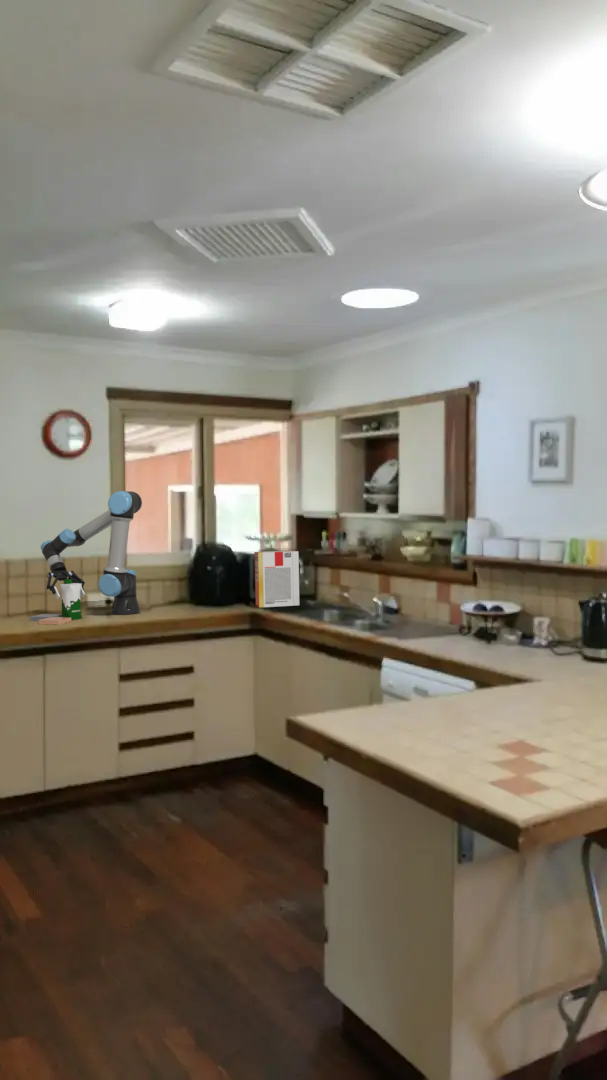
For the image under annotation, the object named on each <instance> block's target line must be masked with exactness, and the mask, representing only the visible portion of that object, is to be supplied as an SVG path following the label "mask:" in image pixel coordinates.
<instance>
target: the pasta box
mask: <svg viewBox="0 0 607 1080" xmlns="http://www.w3.org/2000/svg"><path fill="white" fill-rule="evenodd" d="M299 563H300V559H299V550H275V551H274V550H271V551H254V578H255V579H254V581H255V582H254V583H255V585H254V586H255V588H254V589H255V606H256V605H257V606H258V607H257V606H256V607H257V608H259V609H260V608H275V607H291V606H292V607H293V606H300V568H299V567H300V565H299Z"/></svg>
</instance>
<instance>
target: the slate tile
mask: <svg viewBox="0 0 607 1080" xmlns="http://www.w3.org/2000/svg"><path fill="white" fill-rule="evenodd" d="M50 617H62V613H61V614H57V613H41V614H36V615H32V616H30V617H29V618H30V619H29V620H30V621H31V622H32V621H34V622H39V620H41V619H45V618H50Z"/></svg>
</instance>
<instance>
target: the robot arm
mask: <svg viewBox="0 0 607 1080" xmlns="http://www.w3.org/2000/svg"><path fill="white" fill-rule="evenodd" d="M142 505H143V501H142V497H141V495H140V494H139V493H137V492H135V491H129V490H128V491H127V490H125V491H124V490H120V491H119V490H118V491H114V492H113V494H111V495H110V497H109V498H108V501H107V507H108V510H106V511H105V512H103V513H102V514H99V515H98V516H97V517H95V518H93V519H92V520H90V521H89V522H87V523H86V524H84V525H82V526H81V527H79V528H78V529H76V530H75V531H72V530H71V529H69V528H64V529H63V531H61V532H59V534H58V535H57V536H55V538H54V539H53V540H51V539H50V540H46V541H44V542H42V543H41V545H40V549H41V552H42V553H41V554H42V555H43V556H44V559H45V561H46V563H47V565H48V567H49V572H48V573H47V576H46V577H47V583H46V590H49V591H50V592H52V595H54V597H55V598H56V600H57V601H59V600H60V597H61V595H60V593H59V590H58V588H57V587H56V583H57V582H58V581H60V582H62V581H63V582H64V580H65V579H72V583H79V584H82V585H81V591H80V597H81V599H83V598H84V597H85V596H86V593H85V588H84V585H85V583H86V582H85V581H84V580H83V579H82V578H81V577H79V575H77V574H76V573H75V572H74V570H71V571H68V569H67V567H66V565H65V563H64V561H63V558H62V556H61V555H60V554H62V552H63V551H65V550H67V548H71V547H80V546H83V545H84V544H85V543H86V541H88V540H90V539H91V538H93V537H94V536H96V535H97V534H99V533H101V532H103V531H105V530H106V529H107V528H109V527H111V531H110V540H109V549H108V555H107V563H106V564H107V565H106V566H105V567H104V568H103V572H102V575H101V576H100V578H99V580H98V583H97V584H98V585H97V586H98V589H99V591H100V592H101V594H102V595H104V596H106V597H109V598H111V597H112V598H113V601H112V605H111V609H110V613H112V614H111V615H134V614H139V613H141V607H140V605H139V602H138V601H139V600H138V598H137V573H136V570H135V569H126V568H125V563H126V555H127V547H128V539H129V530H130V523H131V521H133V520H134V517H135V516H134V515H135V514H136V513H138V512H139V511H140V510H141V508H142ZM52 578H55V579H54V580H53V582H52ZM51 583H52V584H51Z"/></svg>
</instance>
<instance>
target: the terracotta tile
mask: <svg viewBox="0 0 607 1080" xmlns="http://www.w3.org/2000/svg"><path fill="white" fill-rule="evenodd" d="M69 621H71V622H72V620H71V617H50V618H45V619H41V620H39V621H38V624H39V625H54V624H59V625H62V624H61V623H63V624H66V623H65V622H67V623H70V622H69Z"/></svg>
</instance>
